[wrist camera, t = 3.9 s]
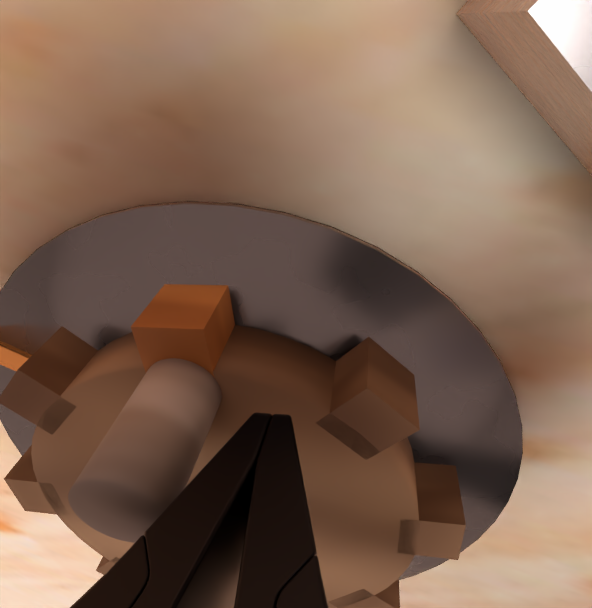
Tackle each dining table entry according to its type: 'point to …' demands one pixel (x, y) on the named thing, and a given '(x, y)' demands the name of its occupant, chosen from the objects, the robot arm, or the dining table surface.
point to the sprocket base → (280, 321)
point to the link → (543, 59)
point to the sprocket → (222, 426)
